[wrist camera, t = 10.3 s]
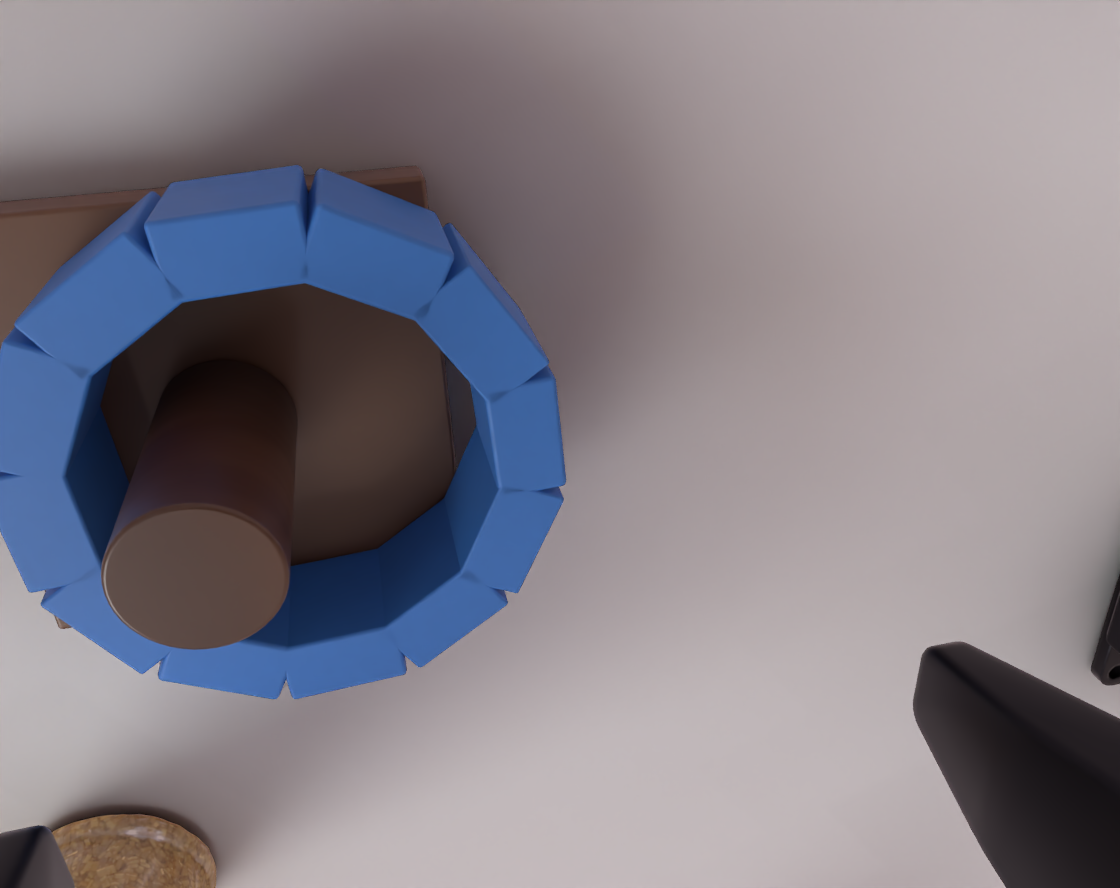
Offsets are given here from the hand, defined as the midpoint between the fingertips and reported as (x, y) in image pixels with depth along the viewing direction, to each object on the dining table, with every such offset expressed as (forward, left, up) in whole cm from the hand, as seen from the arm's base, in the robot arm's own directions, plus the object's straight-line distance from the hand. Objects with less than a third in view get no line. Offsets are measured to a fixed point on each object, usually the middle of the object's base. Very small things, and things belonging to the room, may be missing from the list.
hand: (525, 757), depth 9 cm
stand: (+4, 0, -10) cm, 11 cm away
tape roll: (+2, 0, -9) cm, 10 cm away
